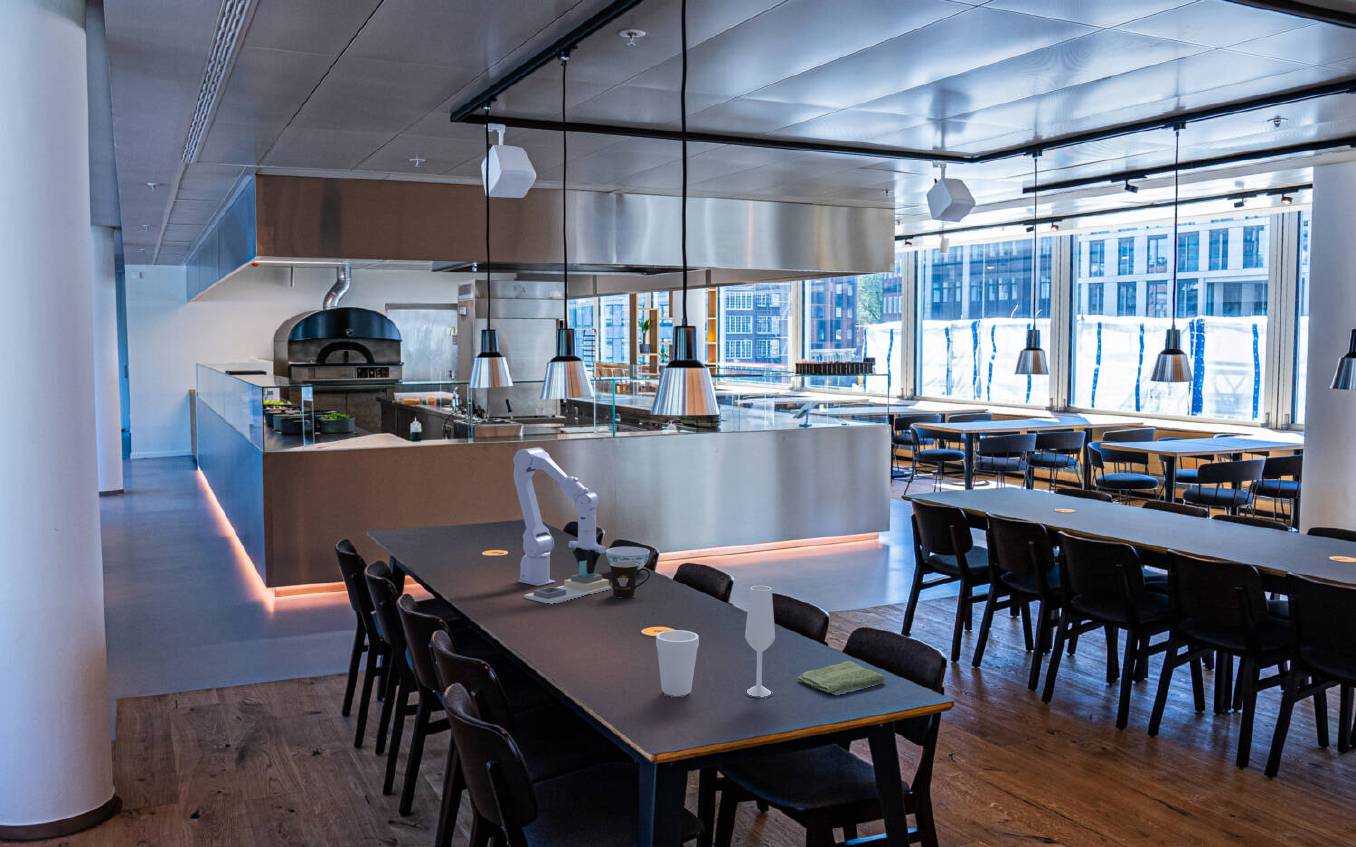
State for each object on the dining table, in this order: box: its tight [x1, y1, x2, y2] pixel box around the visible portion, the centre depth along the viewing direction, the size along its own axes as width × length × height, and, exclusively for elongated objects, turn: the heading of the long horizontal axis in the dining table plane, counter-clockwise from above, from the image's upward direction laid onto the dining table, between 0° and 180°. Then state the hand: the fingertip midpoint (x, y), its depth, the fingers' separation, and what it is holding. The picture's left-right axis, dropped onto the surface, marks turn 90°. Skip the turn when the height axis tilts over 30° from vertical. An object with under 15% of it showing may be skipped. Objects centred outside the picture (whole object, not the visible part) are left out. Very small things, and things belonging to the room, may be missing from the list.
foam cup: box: [655, 629, 700, 696], centre depth 228 cm, size 10×9×13 cm
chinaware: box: [605, 546, 651, 570], centre depth 350 cm, size 15×15×8 cm
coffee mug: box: [609, 561, 651, 599], centre depth 317 cm, size 12×9×10 cm
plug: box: [578, 560, 596, 578], centre depth 325 cm, size 3×4×6 cm
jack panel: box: [524, 572, 612, 605], centre depth 319 cm, size 12×26×4 cm, turn 141°
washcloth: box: [796, 660, 886, 694], centre depth 237 cm, size 13×18×3 cm
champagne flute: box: [744, 585, 776, 697], centre depth 228 cm, size 7×7×24 cm
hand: (586, 572), depth 325 cm, fingers closed on plug, 3 cm apart
